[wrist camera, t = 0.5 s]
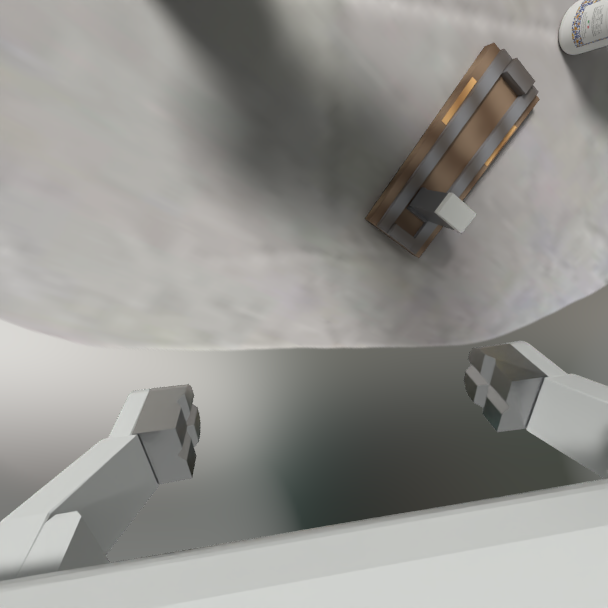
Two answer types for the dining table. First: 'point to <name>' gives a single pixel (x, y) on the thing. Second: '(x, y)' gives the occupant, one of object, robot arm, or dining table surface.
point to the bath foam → (584, 27)
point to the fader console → (457, 144)
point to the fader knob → (441, 209)
